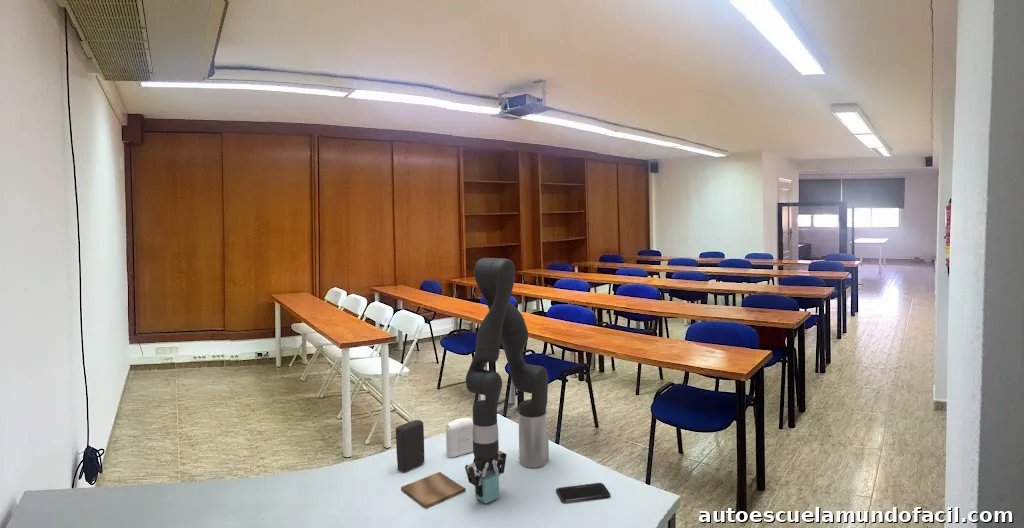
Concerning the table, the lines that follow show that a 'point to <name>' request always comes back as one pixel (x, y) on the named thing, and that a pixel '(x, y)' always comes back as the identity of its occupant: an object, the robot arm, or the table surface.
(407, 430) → the card reader
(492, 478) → the teal block
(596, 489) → the phone
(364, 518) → the table surface
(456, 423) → the photo printer
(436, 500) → the walnut board
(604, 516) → the table surface
